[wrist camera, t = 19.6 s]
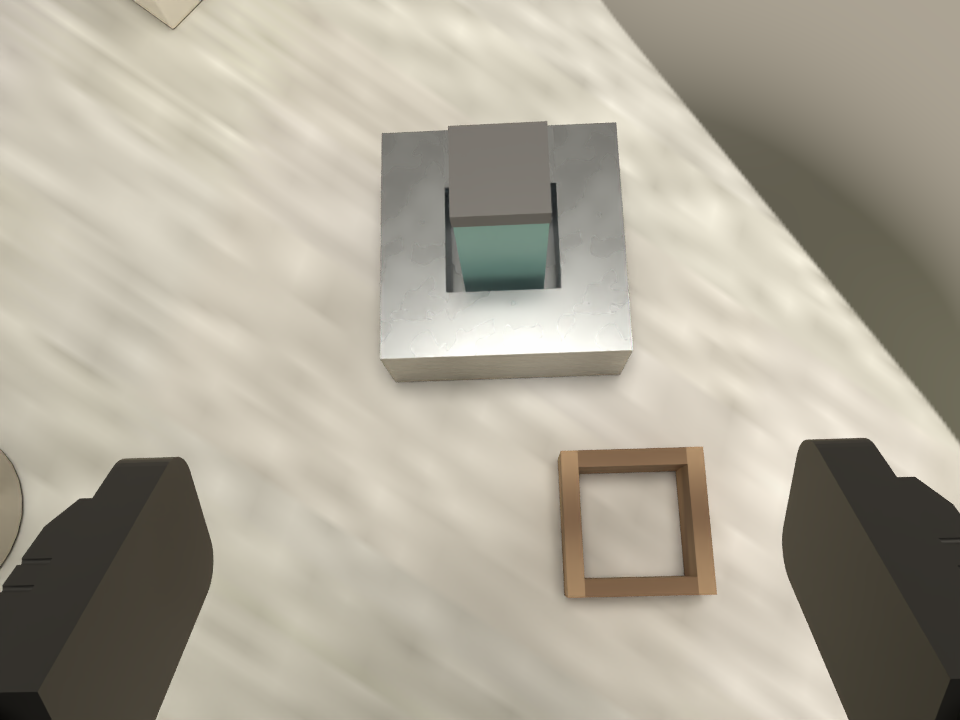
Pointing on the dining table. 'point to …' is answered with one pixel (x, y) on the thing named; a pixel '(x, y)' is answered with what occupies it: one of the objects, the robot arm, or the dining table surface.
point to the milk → (169, 9)
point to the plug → (500, 204)
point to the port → (512, 313)
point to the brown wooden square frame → (690, 512)
